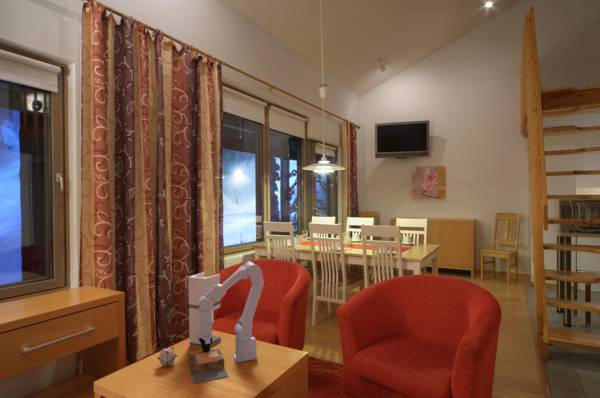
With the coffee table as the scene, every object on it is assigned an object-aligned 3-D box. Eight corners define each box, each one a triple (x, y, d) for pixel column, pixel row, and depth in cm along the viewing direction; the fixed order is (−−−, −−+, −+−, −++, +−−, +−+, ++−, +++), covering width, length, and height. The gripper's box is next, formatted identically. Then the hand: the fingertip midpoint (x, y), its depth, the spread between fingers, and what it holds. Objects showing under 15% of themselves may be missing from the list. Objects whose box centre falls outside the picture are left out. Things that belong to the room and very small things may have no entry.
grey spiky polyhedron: (169, 375, 163) (168, 363, 157) (153, 367, 164) (151, 355, 158) (181, 358, 170) (181, 346, 164) (165, 350, 171) (165, 338, 165)
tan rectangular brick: (216, 355, 165) (216, 350, 165) (218, 360, 160) (218, 356, 159) (195, 358, 162) (195, 354, 162) (197, 364, 156) (197, 359, 156)
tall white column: (206, 349, 180) (205, 278, 180) (189, 346, 185) (188, 276, 184) (220, 341, 191) (219, 273, 190) (204, 337, 195) (203, 272, 195)
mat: (224, 367, 162) (224, 366, 162) (228, 376, 153) (228, 376, 153) (191, 373, 156) (191, 373, 156) (193, 383, 148) (193, 383, 148)
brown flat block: (219, 357, 172) (219, 348, 172) (224, 367, 162) (224, 358, 162) (188, 362, 167) (188, 354, 166) (191, 373, 156) (191, 364, 156)
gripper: (194, 319, 169) (194, 349, 170) (198, 330, 156) (198, 362, 156) (210, 317, 172) (210, 346, 172) (214, 328, 158) (215, 359, 159)
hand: (205, 354), depth 164 cm, fingers closed
